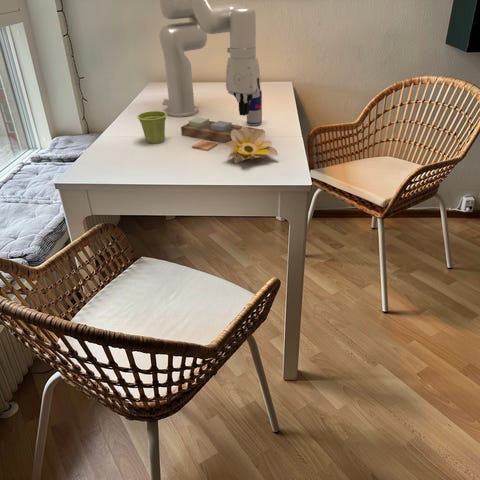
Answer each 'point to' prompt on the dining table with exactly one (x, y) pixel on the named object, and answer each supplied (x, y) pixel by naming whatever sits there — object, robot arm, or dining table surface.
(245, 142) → the decorative flower
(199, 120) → the sage button
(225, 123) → the slate button
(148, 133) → the plant pot
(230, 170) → the dining table surface
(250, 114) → the energy drink
